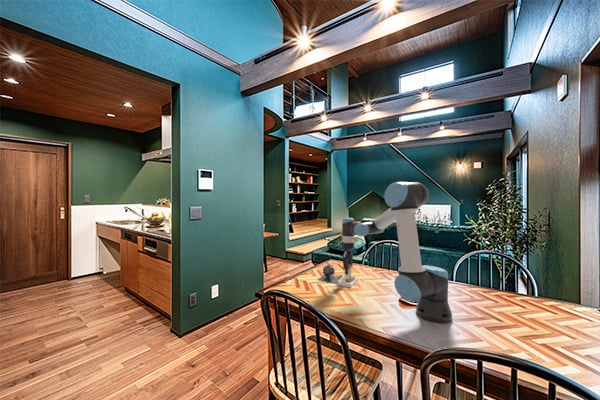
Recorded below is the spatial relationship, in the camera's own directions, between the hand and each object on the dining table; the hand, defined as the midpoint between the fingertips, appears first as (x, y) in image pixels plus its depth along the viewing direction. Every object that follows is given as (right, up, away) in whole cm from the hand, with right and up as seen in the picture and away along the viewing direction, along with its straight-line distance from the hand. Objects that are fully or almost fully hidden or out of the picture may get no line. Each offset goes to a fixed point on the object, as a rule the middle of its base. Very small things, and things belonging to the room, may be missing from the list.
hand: (348, 277), depth 155 cm
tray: (0, -4, 0) cm, 4 cm away
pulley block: (-10, -4, +7) cm, 13 cm away
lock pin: (0, -2, 0) cm, 2 cm away
